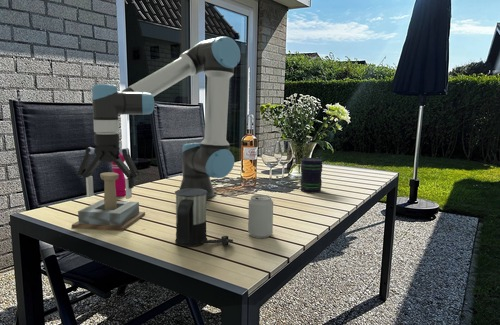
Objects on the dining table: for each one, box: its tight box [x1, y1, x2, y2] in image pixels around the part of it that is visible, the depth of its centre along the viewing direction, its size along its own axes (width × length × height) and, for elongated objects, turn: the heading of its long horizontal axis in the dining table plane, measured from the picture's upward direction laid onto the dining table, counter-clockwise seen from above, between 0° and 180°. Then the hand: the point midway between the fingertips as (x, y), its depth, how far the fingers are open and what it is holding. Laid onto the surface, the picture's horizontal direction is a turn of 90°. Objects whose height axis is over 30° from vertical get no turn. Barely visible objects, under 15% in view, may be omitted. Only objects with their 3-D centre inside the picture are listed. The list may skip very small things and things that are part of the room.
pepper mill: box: [111, 153, 127, 198], centre depth 155 cm, size 7×7×20 cm
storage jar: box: [299, 157, 323, 194], centre depth 169 cm, size 10×10×15 cm
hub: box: [71, 199, 146, 232], centre depth 121 cm, size 17×17×5 cm
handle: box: [99, 171, 119, 210], centre depth 120 cm, size 5×6×15 cm
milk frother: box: [174, 188, 234, 248], centre depth 102 cm, size 14×16×15 cm
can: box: [247, 194, 274, 239], centre depth 110 cm, size 8×8×12 cm
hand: (109, 197), depth 120 cm, fingers open, 13 cm apart
